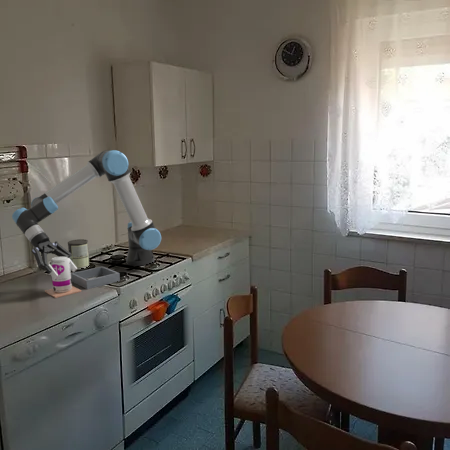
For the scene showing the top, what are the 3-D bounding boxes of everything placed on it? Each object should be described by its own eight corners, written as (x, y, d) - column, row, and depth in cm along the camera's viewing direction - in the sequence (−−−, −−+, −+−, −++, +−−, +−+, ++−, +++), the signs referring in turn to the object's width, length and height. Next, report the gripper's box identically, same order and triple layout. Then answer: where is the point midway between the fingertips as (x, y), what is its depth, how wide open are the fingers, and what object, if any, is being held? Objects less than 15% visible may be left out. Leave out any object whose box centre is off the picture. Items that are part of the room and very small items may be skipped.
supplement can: (66, 293, 210) (63, 260, 208) (49, 292, 212) (46, 260, 209) (75, 287, 218) (73, 256, 216) (59, 287, 220) (56, 255, 217)
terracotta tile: (70, 285, 224) (69, 284, 224) (81, 291, 215) (81, 290, 215) (44, 291, 216) (44, 290, 216) (55, 298, 207) (55, 296, 207)
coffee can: (65, 268, 254) (63, 242, 251) (79, 263, 263) (77, 238, 260) (80, 270, 249) (78, 244, 247) (93, 265, 258) (91, 240, 256)
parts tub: (103, 273, 242) (102, 266, 241) (120, 281, 229) (119, 273, 229) (71, 281, 231) (70, 273, 230) (87, 289, 218) (86, 280, 217)
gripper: (53, 237, 228) (80, 271, 224) (12, 248, 208) (42, 286, 204) (60, 227, 225) (88, 262, 221) (20, 237, 204) (50, 275, 201)
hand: (66, 273), depth 212 cm, fingers open, 11 cm apart
